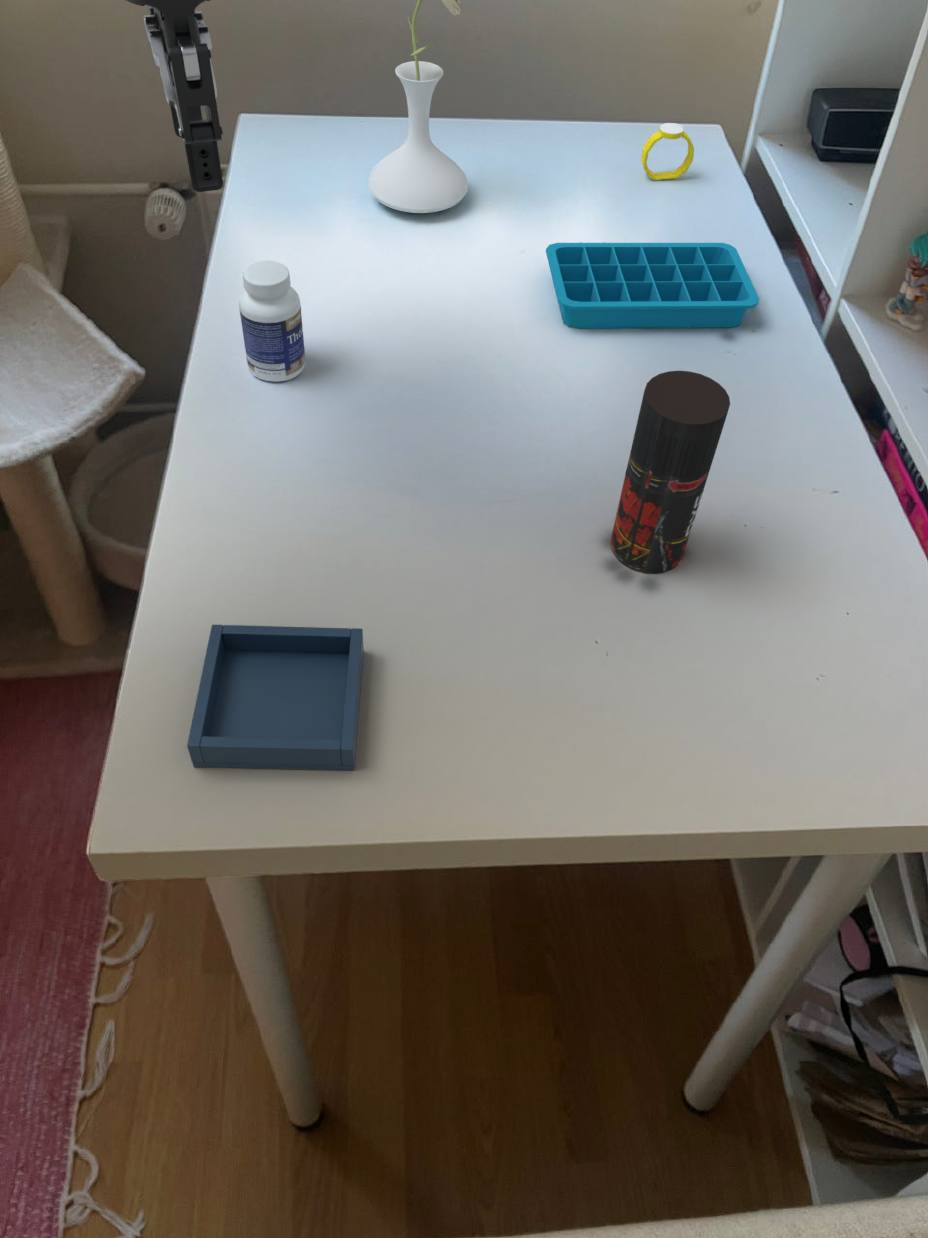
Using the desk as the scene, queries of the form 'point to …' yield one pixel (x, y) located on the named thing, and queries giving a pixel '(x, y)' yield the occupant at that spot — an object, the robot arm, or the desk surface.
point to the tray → (278, 698)
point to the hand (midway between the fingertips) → (198, 160)
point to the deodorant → (668, 469)
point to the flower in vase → (419, 146)
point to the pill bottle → (271, 322)
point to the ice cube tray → (650, 285)
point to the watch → (669, 133)
